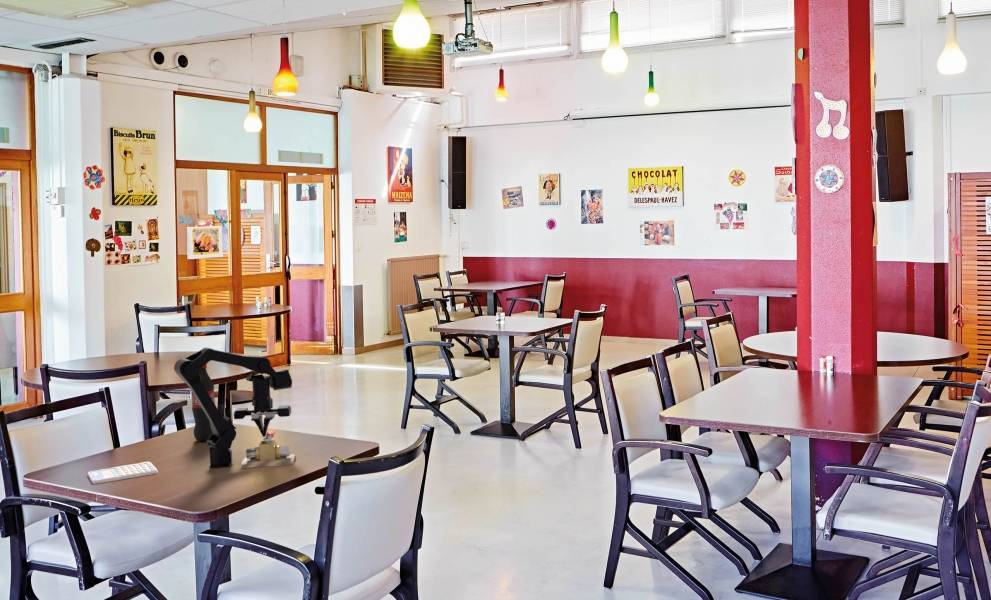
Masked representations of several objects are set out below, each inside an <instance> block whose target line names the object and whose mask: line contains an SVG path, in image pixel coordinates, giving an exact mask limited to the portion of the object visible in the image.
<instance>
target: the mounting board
mask: <svg viewBox="0 0 991 600" xmlns="http://www.w3.org/2000/svg"><path fill="white" fill-rule="evenodd" d="M296 455H297V454H296V453H292V454H291V453H290V457H287V459H276V461H264V462H260V460H256V461H250V459H247V457H246V456H245V457H244V458H243V460H242V461H241V463H240V468H241V469H246V468H248V469H249V468H261V467H264V468H265V467H278V466H293V465H294V463H295V460H296V458H297V457H296Z"/></svg>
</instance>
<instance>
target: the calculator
mask: <svg viewBox="0 0 991 600" xmlns="http://www.w3.org/2000/svg"><path fill="white" fill-rule="evenodd" d="M158 472H159V471H158V468H156V466H155V465H154V464H153V463H152V462H151V461H142V462H138V463H132V464H126V465H120V466H114V467H108V468H102V469H96V470H91V471H88V472H87V477H88V478H89V479H90V481H91V483H92V484H94V485H96V484H97V483H98V484H102V483H103V484H104V483H108V482H115V481H120V480H126V479H133V478H138V477H145V476H149V475H150V476H151V475H156V474H158Z"/></svg>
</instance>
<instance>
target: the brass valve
mask: <svg viewBox="0 0 991 600" xmlns="http://www.w3.org/2000/svg"><path fill="white" fill-rule="evenodd" d="M245 455H246V456H245V457H247V459H250V461H256V460H260V462H264V461H276V459H287V457H290V455H291V447H290V445H279V444H278V445H277V440H276V439H273V440H272V441H271V442H264V440H261V441H260V442H259V445H258V446H255V447H252V448H246V451H245Z"/></svg>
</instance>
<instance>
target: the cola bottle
mask: <svg viewBox="0 0 991 600" xmlns="http://www.w3.org/2000/svg"><path fill="white" fill-rule="evenodd" d="M207 368H208V363H207V364H206V365H205V366H204V367H202V368H201V369H199V373H200V377H201V382H202V384H203V385H204V387H205V389H206V390H207V392H208V394H209V395H210V397H211V399H212V400H213V402H214V404H215V405H216V400H215V385H214V382H213V381H212V379H211V377H210V375H209V374H208V371H207ZM190 392H191V393H190V394H191V412H192V414H193V415H192V416H193V419H194V428H193V437H194V439H195V440H196V441H197V442H200V443H205V442H207V440H208V438H209V437H210V436H211V435H212V433H213V432H212V430H211V426H210V421H209V419H208V417H207V416H206V414H205V412H204V411H203V409H202V407H201V406H200V404H199V402H198V401H197V399H196V397H195V396H194V394H193V392H192V391H191V390H190Z"/></svg>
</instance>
